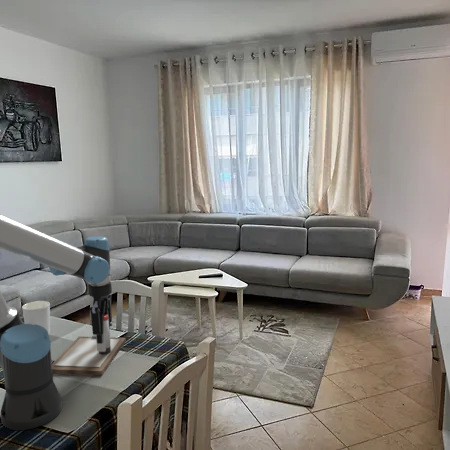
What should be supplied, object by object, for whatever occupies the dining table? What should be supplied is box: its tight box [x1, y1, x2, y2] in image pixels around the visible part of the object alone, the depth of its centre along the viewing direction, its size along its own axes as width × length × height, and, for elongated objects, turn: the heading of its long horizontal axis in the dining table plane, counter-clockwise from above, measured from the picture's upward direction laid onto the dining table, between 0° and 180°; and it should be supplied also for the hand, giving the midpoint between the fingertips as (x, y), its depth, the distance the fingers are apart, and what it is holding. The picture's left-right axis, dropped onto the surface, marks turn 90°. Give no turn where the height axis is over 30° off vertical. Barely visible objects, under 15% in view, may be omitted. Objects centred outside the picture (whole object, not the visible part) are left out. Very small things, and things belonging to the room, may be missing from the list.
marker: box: [99, 314, 111, 355], centre depth 143 cm, size 4×4×13 cm
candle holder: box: [21, 300, 51, 335], centre depth 162 cm, size 10×10×12 cm
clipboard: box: [52, 334, 127, 376], centre depth 145 cm, size 18×24×3 cm
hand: (104, 347), depth 144 cm, fingers closed on marker, 4 cm apart
